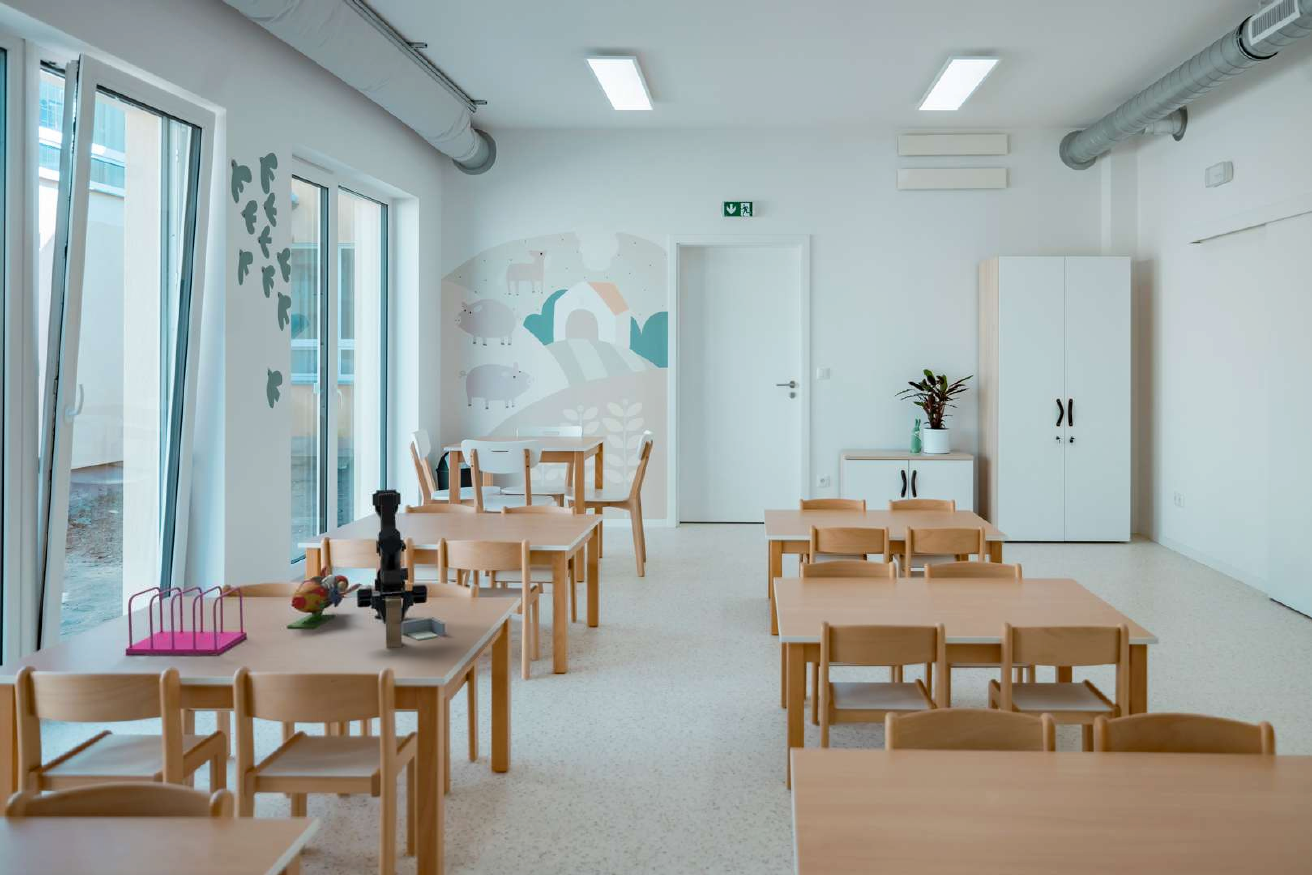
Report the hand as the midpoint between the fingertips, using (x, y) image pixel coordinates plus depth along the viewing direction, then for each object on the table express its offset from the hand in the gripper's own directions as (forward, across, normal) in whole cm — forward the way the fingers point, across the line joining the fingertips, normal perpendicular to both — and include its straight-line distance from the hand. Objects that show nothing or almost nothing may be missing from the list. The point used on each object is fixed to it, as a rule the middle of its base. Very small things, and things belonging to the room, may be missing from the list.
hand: (393, 622), depth 264 cm
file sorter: (-8, -54, +18) cm, 57 cm away
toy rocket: (-20, -21, +30) cm, 41 cm away
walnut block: (+4, 0, +6) cm, 7 cm away
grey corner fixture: (-2, +8, +11) cm, 14 cm away
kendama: (-44, -18, +54) cm, 72 cm away
